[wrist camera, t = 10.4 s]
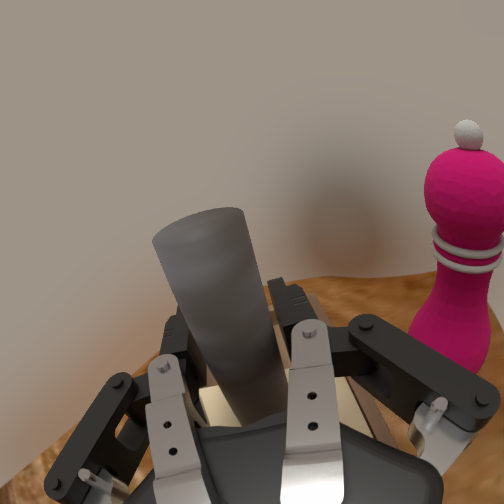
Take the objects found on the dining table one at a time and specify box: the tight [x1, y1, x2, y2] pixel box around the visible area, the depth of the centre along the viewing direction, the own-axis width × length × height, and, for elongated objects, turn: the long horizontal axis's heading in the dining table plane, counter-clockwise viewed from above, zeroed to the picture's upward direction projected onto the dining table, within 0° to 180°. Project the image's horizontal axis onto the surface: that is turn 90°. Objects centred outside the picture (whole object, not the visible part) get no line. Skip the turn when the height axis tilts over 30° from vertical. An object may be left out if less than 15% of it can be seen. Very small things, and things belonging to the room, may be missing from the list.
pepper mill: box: [408, 120, 504, 374], centre depth 14 cm, size 7×7×20 cm
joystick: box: [152, 207, 373, 438], centre depth 12 cm, size 10×8×17 cm
